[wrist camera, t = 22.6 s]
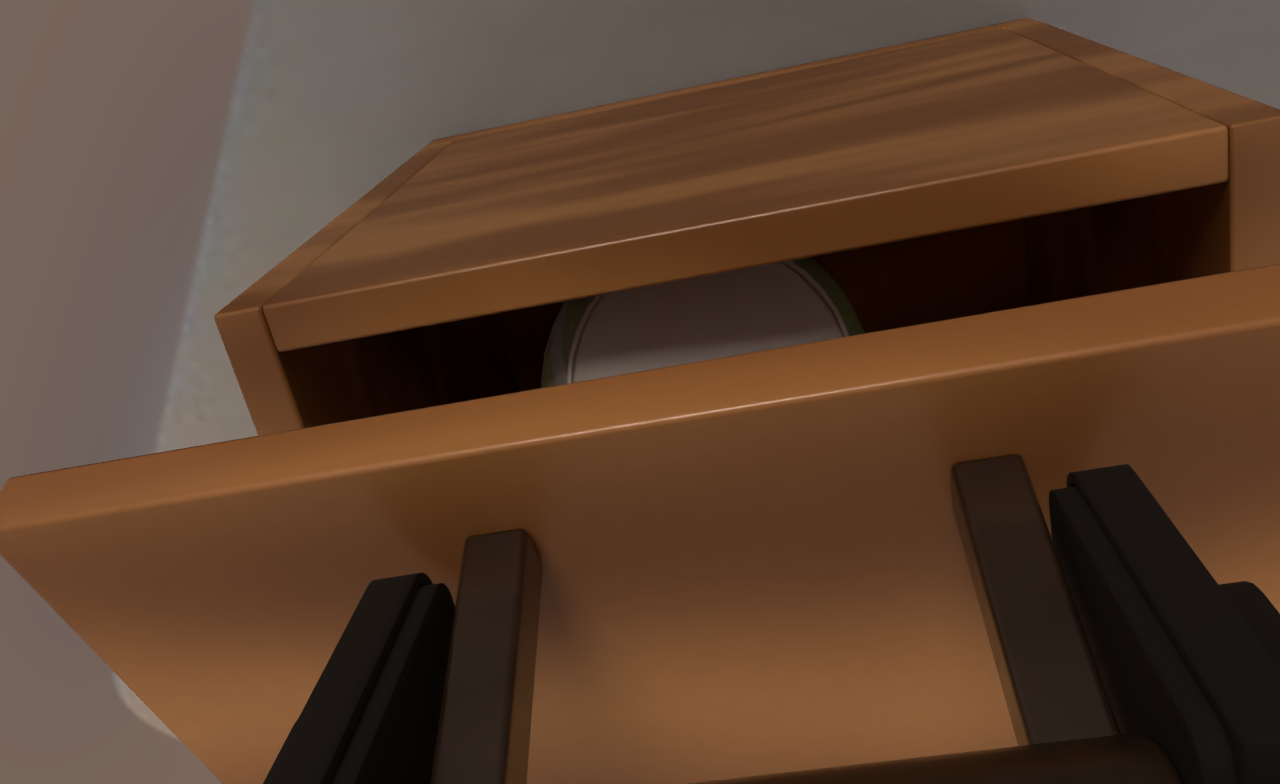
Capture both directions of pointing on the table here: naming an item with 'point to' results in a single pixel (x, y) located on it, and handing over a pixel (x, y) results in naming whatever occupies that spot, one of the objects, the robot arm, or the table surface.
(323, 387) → the chest
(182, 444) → the table surface
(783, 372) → the chest lid
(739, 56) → the table surface
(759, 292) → the beverage can
